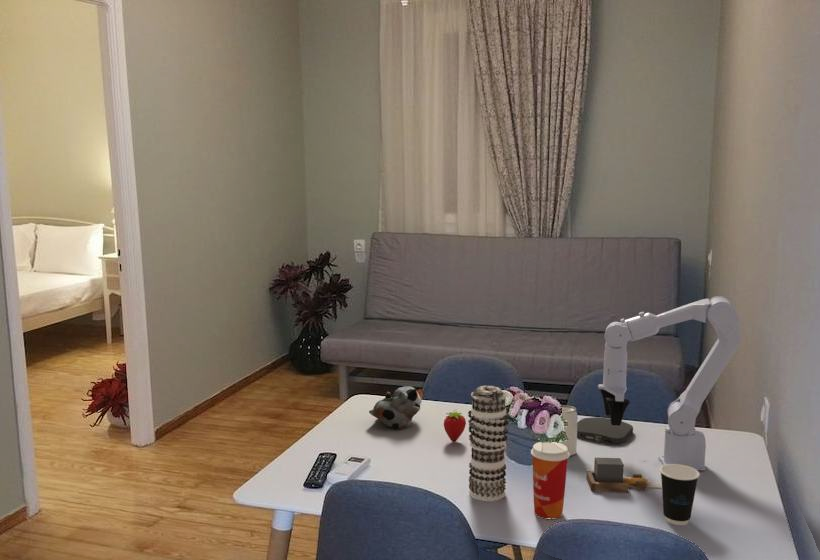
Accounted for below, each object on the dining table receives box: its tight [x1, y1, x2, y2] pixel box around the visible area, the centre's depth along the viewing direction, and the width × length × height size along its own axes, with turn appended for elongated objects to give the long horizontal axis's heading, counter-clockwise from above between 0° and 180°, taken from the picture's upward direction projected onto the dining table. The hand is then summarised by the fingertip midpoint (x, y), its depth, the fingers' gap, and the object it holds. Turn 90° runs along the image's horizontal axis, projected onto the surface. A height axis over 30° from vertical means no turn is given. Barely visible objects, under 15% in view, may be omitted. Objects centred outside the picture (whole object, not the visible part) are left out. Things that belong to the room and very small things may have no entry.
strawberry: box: [443, 410, 467, 443], centre depth 201 cm, size 6×8×10 cm
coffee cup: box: [530, 441, 571, 520], centre depth 158 cm, size 8×8×15 cm
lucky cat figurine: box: [368, 385, 423, 431], centre depth 216 cm, size 15×12×14 cm
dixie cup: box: [659, 464, 701, 526], centre depth 156 cm, size 8×8×11 cm
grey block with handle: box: [593, 456, 649, 485], centre depth 174 cm, size 12×4×6 cm, turn 86°
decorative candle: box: [467, 385, 510, 502], centre depth 168 cm, size 9×9×25 cm
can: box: [559, 404, 578, 457], centre depth 194 cm, size 6×6×12 cm
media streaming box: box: [577, 416, 634, 446], centre depth 208 cm, size 15×15×3 cm
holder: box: [585, 470, 662, 493], centre depth 174 cm, size 17×8×2 cm, turn 86°
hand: (612, 420), depth 190 cm, fingers open, 7 cm apart
